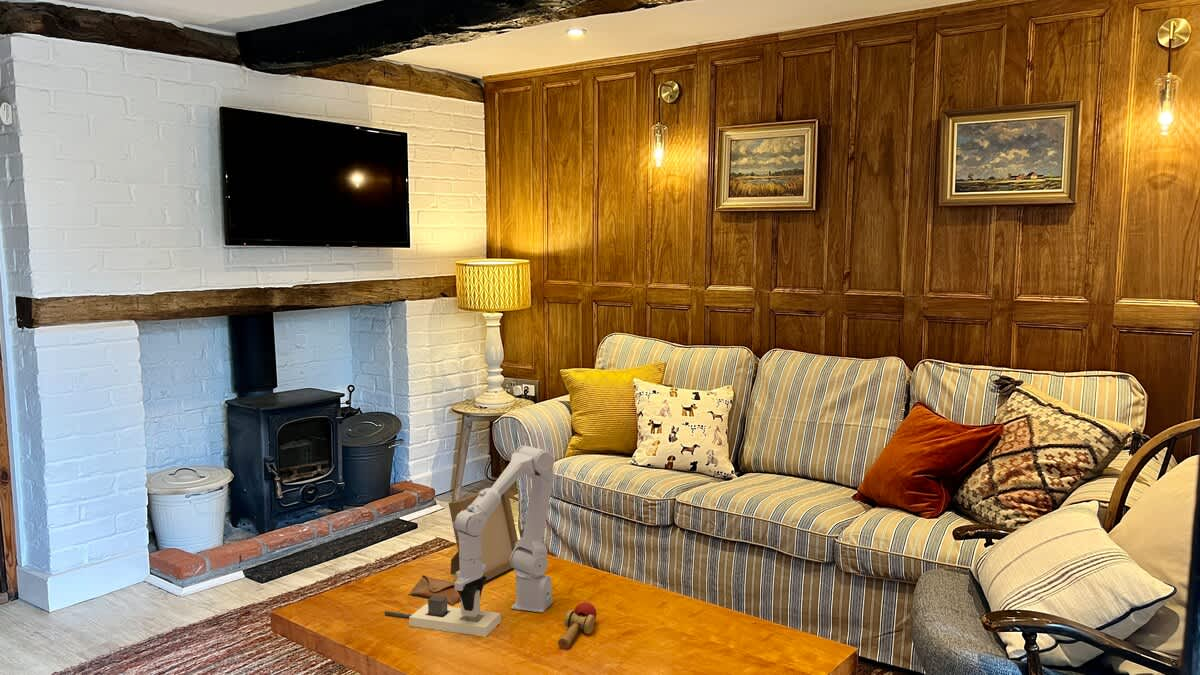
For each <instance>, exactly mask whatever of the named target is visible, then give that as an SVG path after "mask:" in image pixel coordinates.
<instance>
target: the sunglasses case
mask: <svg viewBox="0 0 1200 675" xmlns="http://www.w3.org/2000/svg"><path fill="white" fill-rule="evenodd" d="M454 583H455V582H451V581H449V580H444V579H438V578H434V577H429V576H427V575H422V576H421V578H420V579H419V581H418V582H417V583H416V584H415V586H414V587H413V588H412V589H411V591H410V592H409V593H407V594H408V595H407V596H409V595H412V596H411V597H416V596H417V598H421V597H423V598H422V599H425V600H426V599H427V600H428V599H429V598H431V597H432V596H433V595H435V596H443V597H447V605H450V606H453V605H455V604H457V603H458V604H460V603H461V597H460V595H459V593H458V591H457V590H455V586H454ZM459 602H460V603H459ZM458 604H457V605H458ZM455 606H456V605H455Z"/></svg>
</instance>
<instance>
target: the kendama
mask: <svg viewBox="0 0 1200 675" xmlns="http://www.w3.org/2000/svg"><path fill="white" fill-rule="evenodd" d="M597 613H598V612H597V609H596V607H595V606H594V604H592V603H590V602H587V601H582V602H580V603H578V604H577V605H576V606H575V608H574V610H573V609H572V610H571V609H569V610H568V611H567V612H566V615H565V617H564V623H563V624H564V627H566V628H568V629H567V630H566V631H565V633H564V634H563V635H562V636H561V637H559V639H558V641H557V644H558V646H559V648H560V649H564V650H567V649H569V648H570V646H571V644H572V642H573V639H574V638H575V636H576V634H577V633H578V630H579V628H580V629H582V631H583V633H584V634H587V635H590V634H591V633H592V632H591V631H593V630H594V628H595V627H594V626H595V623H596V619H597V615H598V614H597ZM590 632H591V633H590Z"/></svg>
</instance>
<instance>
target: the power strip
mask: <svg viewBox="0 0 1200 675" xmlns="http://www.w3.org/2000/svg"><path fill="white" fill-rule="evenodd" d="M384 615H385V616H389V617H399V618H406V619H408V620H409V623H408V624H409V627H412V626H413V627H412V628H419V627H420V629H427V630H433V629H434V630H435V631H440V630H441V631H440V632H449V633H456V634H464V635H469V634H470V635H469V636H477V637H484V638H486V637H487V636H488V635H489V634H490V633H491V632H493V630H494V629H496V628H497V627H498V626H499V625H498V624H501V622H502V621H501V612H500V613H499V612H493V611H486V610H484V611H483V610H480V613H479V614H478V615H477V616H476V617H471V616H464V615H461V607H453V606H448V604H447V597H443V596H435V595H433V596H432V597H431V598H429V599H427V603H425V604H424V605H422V607H420V608H419V609H417V610H416V611H415V612H413V613H412V614H410V613H402V612H396V611H390V610H389V611H388V610H385V611H384ZM497 625H498V626H497ZM496 626H497V627H496Z"/></svg>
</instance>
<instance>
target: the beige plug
mask: <svg viewBox="0 0 1200 675" xmlns="http://www.w3.org/2000/svg"><path fill="white" fill-rule="evenodd" d="M480 603H481V597H480V590H476V592H475V596H474V606H473V610H472V611H467V610H465V609H464V606H463V603H462V599H461V602H460V608H461V615H464V616H471V617H476V616H477V615H478V614H479V613H480V611H481V604H480Z"/></svg>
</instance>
